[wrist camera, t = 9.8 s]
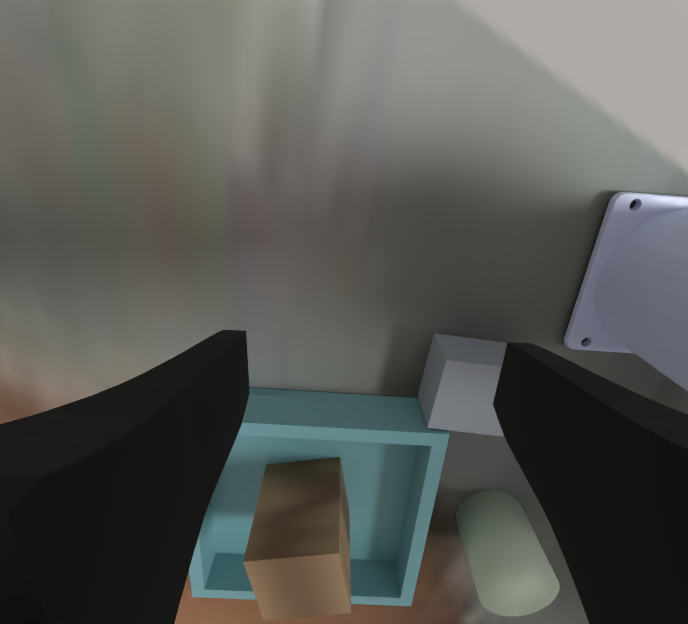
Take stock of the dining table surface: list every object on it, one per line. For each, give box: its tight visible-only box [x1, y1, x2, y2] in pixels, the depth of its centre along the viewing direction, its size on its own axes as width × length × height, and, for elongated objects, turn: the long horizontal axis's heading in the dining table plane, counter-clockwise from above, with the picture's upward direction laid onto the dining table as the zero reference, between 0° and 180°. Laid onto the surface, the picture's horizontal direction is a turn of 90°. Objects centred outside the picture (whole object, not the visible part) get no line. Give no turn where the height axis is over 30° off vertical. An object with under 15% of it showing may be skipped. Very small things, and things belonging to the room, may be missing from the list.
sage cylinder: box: [455, 490, 560, 617], centre depth 24 cm, size 4×4×5 cm
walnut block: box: [243, 457, 351, 620], centre depth 22 cm, size 4×4×6 cm
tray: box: [189, 388, 450, 606], centre depth 24 cm, size 14×14×3 cm
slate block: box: [418, 333, 507, 437], centre depth 21 cm, size 4×4×3 cm
